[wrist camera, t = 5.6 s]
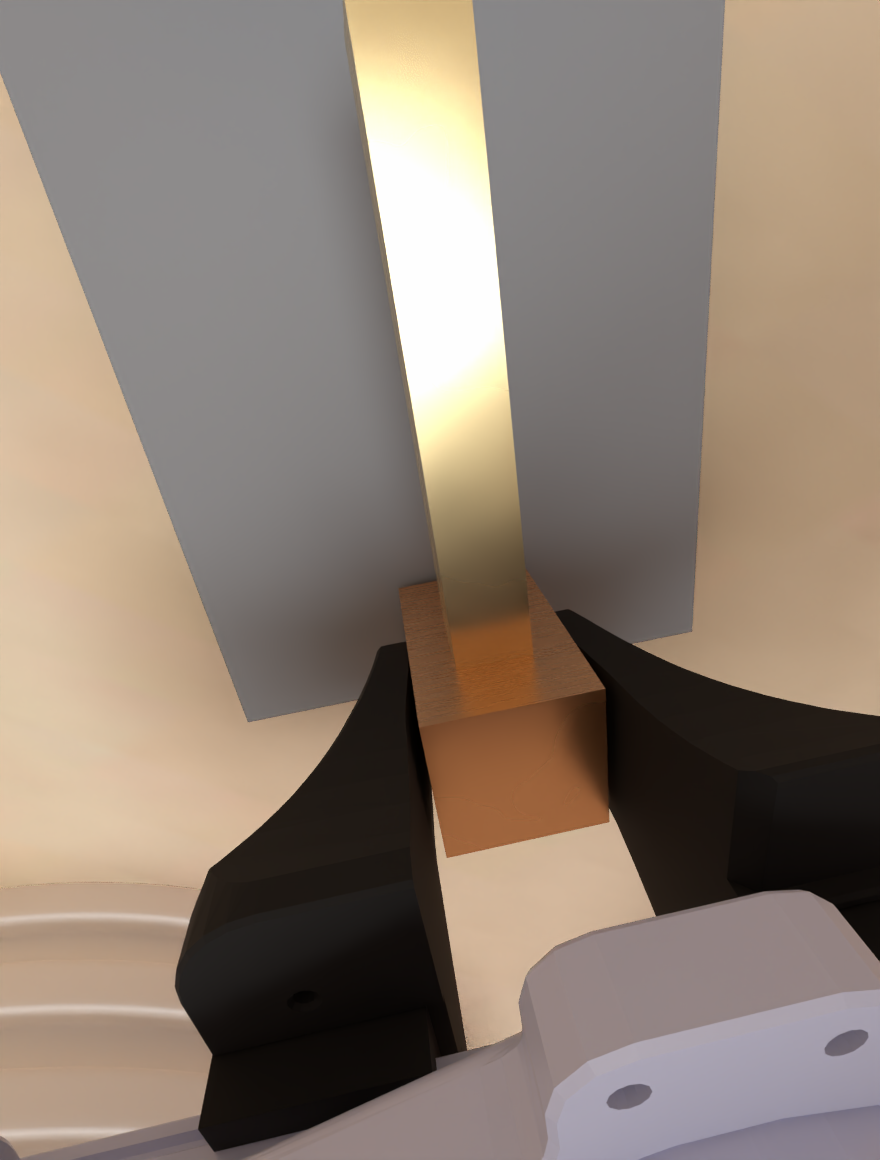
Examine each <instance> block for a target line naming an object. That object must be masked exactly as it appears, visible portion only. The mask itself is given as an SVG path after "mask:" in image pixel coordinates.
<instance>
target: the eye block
mask: <svg viewBox="0 0 880 1160" xmlns="http://www.w3.org/2000/svg"><path fill="white" fill-rule="evenodd" d="M472 2H473V13H474V23H475V34H476V45H477V55H478V66H479V77H480V88H481V98H482V109H483V120H484V130H485V141H486V152H487V163H488V173H489V184H490V195H491V205H492V216H493V227H494V238H495V248H496V259H497V270H498V280H499V291H500V302H501V312H502V323H503V334H504V345H505V355H506V366H507V377H508V387H509V398H510V409H511V420H512V430H513V441H514V452H515V462H516V473H517V484H518V494H519V505H520V516H521V527H522V537H523V548H524V559H525V568H526V569H527V571H528V572H529V574H530V575H531V577H532V579H533V580H534V582H535V583H536V585H537V586H538V588H539V589H540V591H541V592H542V594H543V595H544V597H545V598H546V600H547V601H548V603H549V604H550V606H551V607H552V609H553V610H554V612H555V611H560V610H565V609H570V610H572V611H573V612H575V613H577V614H579V615H581V616H582V617H584V618H586V619H588V620H589V621H591V622H593V623H594V624H596V625H598V626H600V627H601V628H603V629H605V630H607V631H608V632H610V633H612V634H614V635H616V636H617V637H619V638H621V639H623V640H625V641H626V642H628V643H630V644H633V643H638V642H643V641H648V640H653V639H657V638H662V637H667V636H672V635H677V634H682V633H687V632H692V622H693V603H694V583H695V564H696V545H697V526H698V507H699V488H700V468H701V449H702V430H703V411H704V392H705V373H706V353H707V334H708V315H709V296H710V277H711V258H712V238H713V219H714V200H715V181H716V162H717V143H718V123H719V104H720V85H721V66H722V47H723V27H724V8H725V0H472ZM0 73H1V76H2V78H3V81H4V83H5V86H6V89H7V91H8V94H9V96H10V99H11V102H12V104H13V107H14V110H15V112H16V115H17V117H18V120H19V123H20V125H21V128H22V131H23V133H24V136H25V138H26V141H27V144H28V146H29V149H30V152H31V154H32V157H33V159H34V162H35V165H36V167H37V170H38V173H39V175H40V178H41V180H42V183H43V186H44V188H45V191H46V194H47V196H48V199H49V201H50V204H51V207H52V209H53V212H54V215H55V217H56V220H57V222H58V225H59V228H60V230H61V233H62V236H63V238H64V241H65V243H66V246H67V249H68V251H69V254H70V256H71V259H72V262H73V264H74V267H75V270H76V272H77V275H78V277H79V280H80V283H81V285H82V288H83V291H84V293H85V296H86V298H87V301H88V304H89V306H90V309H91V312H92V314H93V317H94V319H95V322H96V325H97V327H98V330H99V333H100V335H101V338H102V340H103V343H104V346H105V348H106V351H107V354H108V356H109V359H110V361H111V364H112V367H113V369H114V372H115V375H116V377H117V380H118V382H119V385H120V388H121V390H122V393H123V396H124V398H125V401H126V403H127V406H128V409H129V411H130V414H131V416H132V419H133V422H134V424H135V427H136V430H137V432H138V435H139V437H140V440H141V443H142V445H143V448H144V451H145V453H146V456H147V458H148V461H149V464H150V466H151V469H152V472H153V474H154V477H155V479H156V482H157V485H158V487H159V490H160V493H161V495H162V498H163V500H164V503H165V506H166V508H167V511H168V514H169V516H170V519H171V521H172V524H173V527H174V529H175V532H176V535H177V537H178V540H179V542H180V545H181V548H182V550H183V553H184V556H185V558H186V561H187V563H188V566H189V569H190V571H191V574H192V576H193V579H194V582H195V584H196V587H197V590H198V592H199V595H200V597H201V600H202V603H203V605H204V608H205V611H206V613H207V616H208V618H209V621H210V624H211V626H212V629H213V632H214V634H215V637H216V639H217V642H218V645H219V647H220V650H221V653H222V655H223V658H224V660H225V663H226V666H227V668H228V671H229V674H230V676H231V679H232V681H233V684H234V687H235V689H236V692H237V695H238V697H239V700H240V702H241V705H242V708H243V710H244V713H245V716H246V718H247V721H248V722H252V721H257V720H261V719H266V718H271V717H276V716H281V715H286V714H291V713H296V712H301V711H305V710H310V709H315V708H320V707H325V706H330V705H335V704H340V703H345V702H349V701H354V700H358V699H359V696H360V694H361V692H362V690H363V688H364V686H365V683H366V681H367V679H368V676H369V674H370V671H371V669H372V666H373V663H374V660H375V657H376V653H377V651H378V649H379V648H380V647H381V646H385V645H390V644H395V643H400V642H405V641H406V637H405V630H404V623H403V617H402V610H401V603H400V596H399V590H398V588H402V587H407V586H412V585H417V584H422V583H428V582H433V581H437V579H436V573H435V567H434V561H433V555H432V549H431V544H430V538H429V532H428V526H427V520H426V514H425V509H424V503H423V497H422V491H421V485H420V479H419V474H418V468H417V462H416V456H415V450H414V444H413V438H412V433H411V427H410V421H409V415H408V409H407V403H406V398H405V392H404V386H403V380H402V374H401V368H400V362H399V357H398V351H397V345H396V339H395V333H394V327H393V322H392V316H391V310H390V304H389V298H388V292H387V286H386V281H385V275H384V269H383V263H382V257H381V251H380V246H379V240H378V234H377V228H376V222H375V216H374V210H373V205H372V199H371V193H370V187H369V181H368V175H367V170H366V164H365V158H364V152H363V146H362V140H361V134H360V129H359V123H358V117H357V111H356V105H355V99H354V94H353V88H352V82H351V76H350V70H349V64H348V58H347V53H346V47H345V41H344V20H343V0H0Z"/></svg>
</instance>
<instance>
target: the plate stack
mask: <svg viewBox="0 0 880 1160" xmlns="http://www.w3.org/2000/svg"><path fill="white" fill-rule="evenodd" d="M200 891H201V889H194V888H187V887H178V886H169V885H156V884H143V883H122V882H74V883H52V884H38V885H26V886H17V887H7V888H0V1136H2V1137H4V1138H5V1139H6V1140H7V1141H8V1142H9V1143H11V1145H12V1146H13V1148H14V1149H15V1151H16V1152H17V1154H18V1156H19V1158H22V1157H26V1156H30V1155H34V1154H38V1153H42V1152H47V1151H51V1150H55V1149H59V1148H63V1147H67V1146H72V1145H76V1144H80V1143H84V1142H88V1141H92V1140H97V1139H101V1138H105V1137H109V1136H113V1135H117V1134H122V1133H126V1132H130V1131H134V1130H138V1129H142V1128H147V1127H151V1126H155V1125H159V1124H163V1123H167V1122H172V1121H176V1120H180V1119H184V1118H188V1117H192V1116H197V1115H201V1110H202V1105H203V1100H204V1095H205V1090H206V1085H207V1080H208V1075H209V1069H210V1064H211V1059H212V1053H211V1052H210V1050H209V1048H208V1047H207V1045H206V1044H205V1042H204V1040H203V1039H202V1037H201V1035H200V1034H199V1032H198V1031H197V1029H196V1027H195V1026H194V1024H193V1023H192V1021H191V1019H190V1018H189V1016H188V1015H187V1013H186V1011H185V1010H184V1008H183V1006H182V1005H181V1003H180V1001H179V998H178V995H177V992H176V990H175V976H176V968H177V965H178V961H179V957H180V954H181V950H182V947H183V943H184V939H185V936H186V932H187V928H188V925H189V921H190V918H191V915H192V912H193V909H194V906H195V904H196V901H197V898H198V896H199V894H200Z"/></svg>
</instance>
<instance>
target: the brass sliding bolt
mask: <svg viewBox="0 0 880 1160" xmlns="http://www.w3.org/2000/svg"><path fill="white" fill-rule="evenodd" d="M343 20H344V41H345V47H346V53H347V58H348V64H349V70H350V76H351V82H352V88H353V94H354V99H355V105H356V111H357V117H358V123H359V129H360V134H361V140H362V146H363V152H364V158H365V164H366V170H367V175H368V181H369V187H370V193H371V199H372V205H373V210H374V216H375V222H376V228H377V234H378V240H379V246H380V251H381V257H382V263H383V269H384V275H385V281H386V286H387V292H388V298H389V304H390V310H391V316H392V322H393V327H394V333H395V339H396V345H397V351H398V357H399V362H400V368H401V374H402V380H403V386H404V392H405V398H406V403H407V409H408V415H409V421H410V427H411V433H412V438H413V444H414V450H415V456H416V462H417V468H418V474H419V479H420V485H421V491H422V497H423V503H424V509H425V514H426V520H427V526H428V532H429V538H430V544H431V549H432V555H433V561H434V567H435V573H436V579H437V581H433V582H428V583H422V584H417V585H412V586H407V587H402V588H398V590H399V596H400V603H401V610H402V617H403V623H404V630H405V637H406V643H407V650H408V657H409V664H410V670H411V677H412V684H413V691H414V697H415V704H416V711H417V718H418V724H419V730H420V735H421V739H422V744H423V749H424V753H425V758H426V763H427V767H428V772H429V777H430V781H431V786H432V791H433V795H434V800H435V805H436V810H437V814H438V819H439V824H440V828H441V833H442V838H443V842H444V847H445V852H446V856H447V858H449V857H453V856H458V855H462V854H467V853H471V852H476V851H480V850H485V849H489V848H494V847H498V846H503V845H507V844H512V843H516V842H521V841H526V840H530V839H535V838H539V837H544V836H548V835H553V834H557V833H562V832H566V831H571V830H575V829H580V828H584V827H589V826H593V825H598V824H602V823H607V822H609V797H608V760H607V724H606V689H605V687H604V686H603V684H602V683H601V681H600V680H599V678H598V677H597V675H596V674H595V672H594V671H593V669H592V668H591V666H590V665H589V663H588V662H587V660H586V659H585V657H584V655H583V654H582V652H581V651H580V649H579V648H578V646H577V645H576V643H575V642H574V640H573V639H572V637H571V636H570V634H569V633H568V631H567V630H566V628H565V627H564V625H563V624H562V622H561V621H560V619H559V618H558V616H557V615H556V613H555V612H554V610H553V609H552V607H551V606H550V604H549V603H548V601H547V600H546V598H545V597H544V595H543V594H542V592H541V591H540V589H539V588H538V586H537V585H536V583H535V582H534V580H533V579H532V577H531V575H530V574H529V572H528V571H527V569H526V568H525V559H524V548H523V537H522V527H521V516H520V505H519V494H518V484H517V473H516V462H515V452H514V441H513V430H512V420H511V409H510V398H509V387H508V377H507V366H506V355H505V345H504V334H503V323H502V312H501V302H500V291H499V280H498V270H497V259H496V248H495V238H494V227H493V216H492V205H491V195H490V184H489V173H488V163H487V152H486V141H485V130H484V120H483V109H482V98H481V88H480V77H479V66H478V55H477V45H476V34H475V23H474V13H473V2H472V0H343Z"/></svg>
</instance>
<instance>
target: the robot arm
mask: <svg viewBox="0 0 880 1160" xmlns="http://www.w3.org/2000/svg"><path fill="white" fill-rule="evenodd" d="M555 613H556V615H557V616H558V618H559V619H560V621H561V622H562V624H563V625H564V627H565V628H566V630H567V631H568V633H569V634H570V636H571V637H572V639H573V640H574V642H575V643H576V645H577V646H578V648H579V649H580V651H581V652H582V654H583V655H584V657H585V659H586V660H587V662H588V663H589V665H590V666H591V668H592V669H593V671H594V672H595V674H596V675H597V677H598V678H599V680H600V681H601V683H602V684H603V686H604V687H605V689H606V724H607V760H608V797H609V809H610V810H611V812H612V814H613V816H614V818H615V820H616V822H617V825H618V827H619V829H620V832H621V834H622V836H623V838H624V841H625V843H626V845H627V848H628V850H629V852H630V855H631V857H632V859H633V862H634V864H635V866H636V869H637V871H638V873H639V876H640V878H641V881H642V883H643V886H644V888H645V890H646V893H647V895H648V898H649V900H650V902H651V905H652V907H653V910H654V912H655V915H656V917H652V918H648V919H643V920H639V921H635V922H630V923H626V924H622V925H617V926H613V927H609V928H604V929H600V930H596V931H592V932H589V933H586V934H584V935H581V936H579V937H577V938H574V939H572V940H569V941H567V942H564V943H562V944H559V945H557V946H555V947H554V948H553V949H552V950H550V951H549V952H548V953H547V954H546V955H545V956H544V957H543V958H542V959H541V960H540V961H538V962H537V963H536V964H535V965H534V966H533V967H532V968H531V969H530V970H529V972H528V974H527V975H526V977H525V981H524V984H523V988H522V991H521V995H520V999H519V1009H520V1015H521V1021H522V1032H519V1033H517V1034H515V1035H513V1036H511V1037H508V1038H506V1039H504V1040H502V1041H500V1042H498V1043H495V1044H492V1045H488V1046H484V1047H480V1048H476V1049H472V1050H467V1046H466V1040H465V1034H464V1028H463V1022H462V1016H461V1010H460V1004H459V998H458V991H457V985H456V979H455V973H454V967H453V961H452V954H451V948H450V942H449V936H448V929H447V923H446V917H445V910H444V904H443V898H442V891H441V885H440V879H439V872H438V866H437V858H436V848H435V836H434V819H433V803H432V786H431V781H430V777H429V772H428V767H427V763H426V758H425V753H424V749H423V744H422V739H421V735H420V730H419V724H418V718H417V711H416V704H415V697H414V691H413V684H412V677H411V670H410V664H409V657H408V650H407V643H406V641H405V642H400V643H395V644H390V645H385V646H381V647H380V648H379V649H378V651H377V653H376V657H375V660H374V663H373V666H372V669H371V671H370V674H369V676H368V679H367V681H366V683H365V686H364V688H363V690H362V692H361V694H360V696H359V699H358V701H357V703H356V705H355V707H354V709H353V710H352V712H351V714H350V716H349V718H348V719H347V721H346V723H345V725H344V727H343V728H342V730H341V732H340V733H339V735H338V737H337V738H336V740H335V741H334V743H333V744H332V746H331V747H330V749H329V750H328V752H327V753H326V755H325V756H324V757H323V759H322V760H321V762H320V763H319V764H318V766H317V767H316V768H315V769H314V771H313V772H312V773H311V774H310V776H309V777H308V778H307V779H306V780H305V782H304V783H303V784H302V785H301V786H300V787H299V789H298V790H297V791H296V792H295V793H294V794H293V795H292V796H291V798H290V799H289V800H288V801H287V802H286V803H285V804H284V805H283V806H282V807H281V808H280V809H279V810H278V811H277V812H276V813H275V814H274V815H273V816H272V817H270V818H269V819H268V820H267V821H266V822H265V823H264V824H263V825H262V826H261V827H260V828H259V829H258V830H256V831H255V832H254V833H253V834H252V835H251V836H250V837H248V838H247V839H246V840H245V841H244V842H242V843H241V844H240V845H239V846H237V847H236V848H235V849H234V850H233V851H231V852H230V853H229V854H228V855H227V856H225V857H224V858H223V859H222V860H220V861H219V862H218V863H217V864H215V865H214V866H213V867H211V868H210V869H209V871H208V874H207V876H206V879H205V882H204V884H203V887H202V889H201V891H200V894H199V896H198V898H197V901H196V904H195V906H194V909H193V912H192V915H191V918H190V921H189V925H188V928H187V932H186V936H185V939H184V943H183V947H182V950H181V954H180V957H179V961H178V965H177V968H176V976H175V990H176V992H177V995H178V998H179V1001H180V1003H181V1005H182V1006H183V1008H184V1010H185V1011H186V1013H187V1015H188V1016H189V1018H190V1019H191V1021H192V1023H193V1024H194V1026H195V1027H196V1029H197V1031H198V1032H199V1034H200V1035H201V1037H202V1039H203V1040H204V1042H205V1044H206V1045H207V1047H208V1048H209V1050H210V1052H211V1053H212V1059H211V1064H210V1069H209V1075H208V1080H207V1085H206V1090H205V1095H204V1100H203V1105H202V1110H201V1115H197V1116H192V1117H188V1118H184V1119H180V1120H176V1121H172V1122H167V1123H163V1124H159V1125H155V1126H151V1127H147V1128H142V1129H138V1130H134V1131H130V1132H126V1133H122V1134H117V1135H113V1136H109V1137H105V1138H101V1139H97V1140H92V1141H88V1142H84V1143H80V1144H76V1145H72V1146H67V1147H63V1148H59V1149H55V1150H51V1151H47V1152H42V1153H38V1154H34V1155H30V1156H26V1157H22V1158H19V1156H18V1154H17V1152H16V1151H15V1149H14V1148H13V1146H12V1145H11V1143H9V1142H8V1141H7V1140H6V1139H5V1138H4V1137H2V1136H0V1160H880V716H874V715H867V714H860V713H853V712H846V711H839V710H832V709H826V708H821V707H816V706H811V705H806V704H801V703H797V702H792V701H787V700H783V699H779V698H775V697H771V696H766V695H763V694H759V693H756V692H752V691H749V690H745V689H742V688H738V687H735V686H731V685H728V684H725V683H722V682H719V681H716V680H713V679H710V678H708V677H705V676H702V675H700V674H697V673H694V672H691V671H689V670H686V669H684V668H681V667H679V666H676V665H674V664H672V663H669V662H667V661H665V660H663V659H661V658H659V657H657V656H654V655H652V654H650V653H648V652H646V651H644V650H642V649H640V648H638V647H636V646H634V645H632V644H630V643H628V642H626V641H625V640H623V639H621V638H619V637H617V636H616V635H614V634H612V633H610V632H608V631H607V630H605V629H603V628H601V627H600V626H598V625H596V624H594V623H593V622H591V621H589V620H588V619H586V618H584V617H582V616H581V615H579V614H577V613H575V612H573V611H572V610H570V609H565V610H560V611H555Z"/></svg>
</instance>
